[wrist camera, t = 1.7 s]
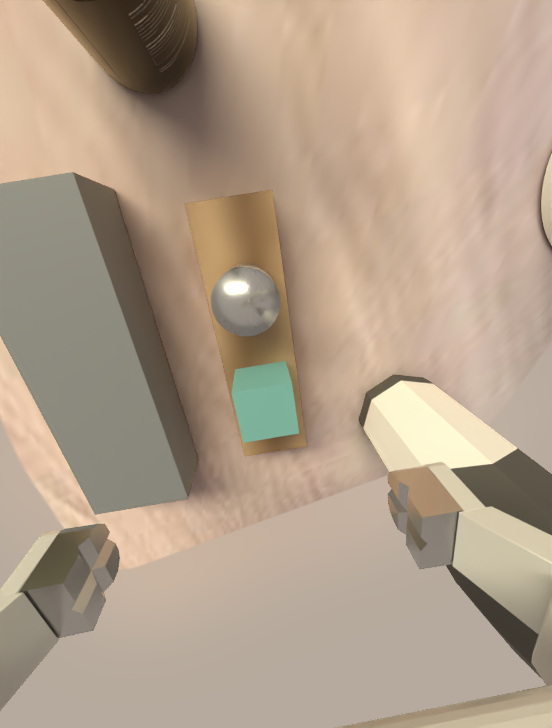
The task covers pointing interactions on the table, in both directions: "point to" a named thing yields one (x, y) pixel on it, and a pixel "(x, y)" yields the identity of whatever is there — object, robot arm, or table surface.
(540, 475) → the wine bottle
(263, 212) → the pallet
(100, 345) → the dock
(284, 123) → the table surface
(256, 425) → the mint green cube
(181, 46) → the supplement bottle
